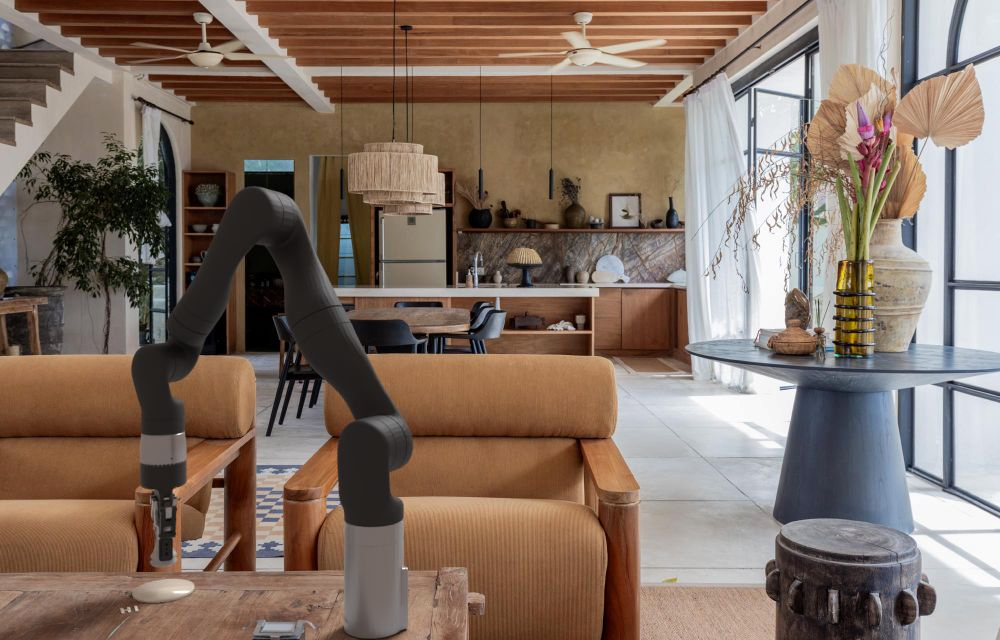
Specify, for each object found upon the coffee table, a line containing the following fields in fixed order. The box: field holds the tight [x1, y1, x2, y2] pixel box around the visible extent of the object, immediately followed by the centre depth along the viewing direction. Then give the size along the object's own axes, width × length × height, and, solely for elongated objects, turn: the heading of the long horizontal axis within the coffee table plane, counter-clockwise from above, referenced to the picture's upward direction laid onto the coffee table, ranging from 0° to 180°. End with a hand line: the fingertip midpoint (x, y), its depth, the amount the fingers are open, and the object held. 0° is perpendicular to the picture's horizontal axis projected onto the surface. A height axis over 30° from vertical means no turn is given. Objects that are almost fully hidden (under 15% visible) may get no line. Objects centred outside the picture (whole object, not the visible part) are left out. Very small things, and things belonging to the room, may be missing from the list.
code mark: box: [119, 605, 139, 615], centre depth 141 cm, size 2×2×1 cm
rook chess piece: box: [149, 519, 178, 568], centre depth 149 cm, size 4×4×8 cm
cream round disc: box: [132, 578, 195, 604], centre depth 149 cm, size 10×10×1 cm
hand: (163, 555), depth 149 cm, fingers closed on rook chess piece, 4 cm apart
